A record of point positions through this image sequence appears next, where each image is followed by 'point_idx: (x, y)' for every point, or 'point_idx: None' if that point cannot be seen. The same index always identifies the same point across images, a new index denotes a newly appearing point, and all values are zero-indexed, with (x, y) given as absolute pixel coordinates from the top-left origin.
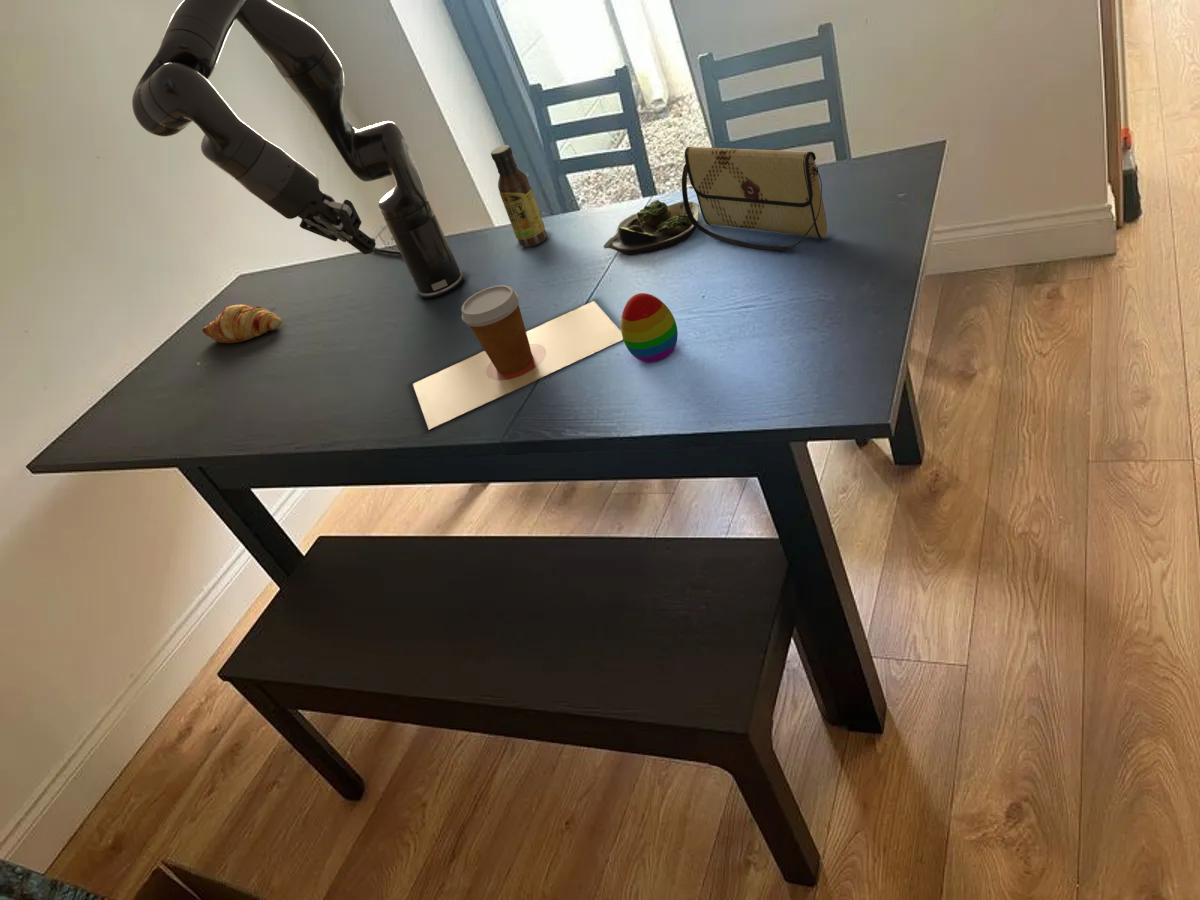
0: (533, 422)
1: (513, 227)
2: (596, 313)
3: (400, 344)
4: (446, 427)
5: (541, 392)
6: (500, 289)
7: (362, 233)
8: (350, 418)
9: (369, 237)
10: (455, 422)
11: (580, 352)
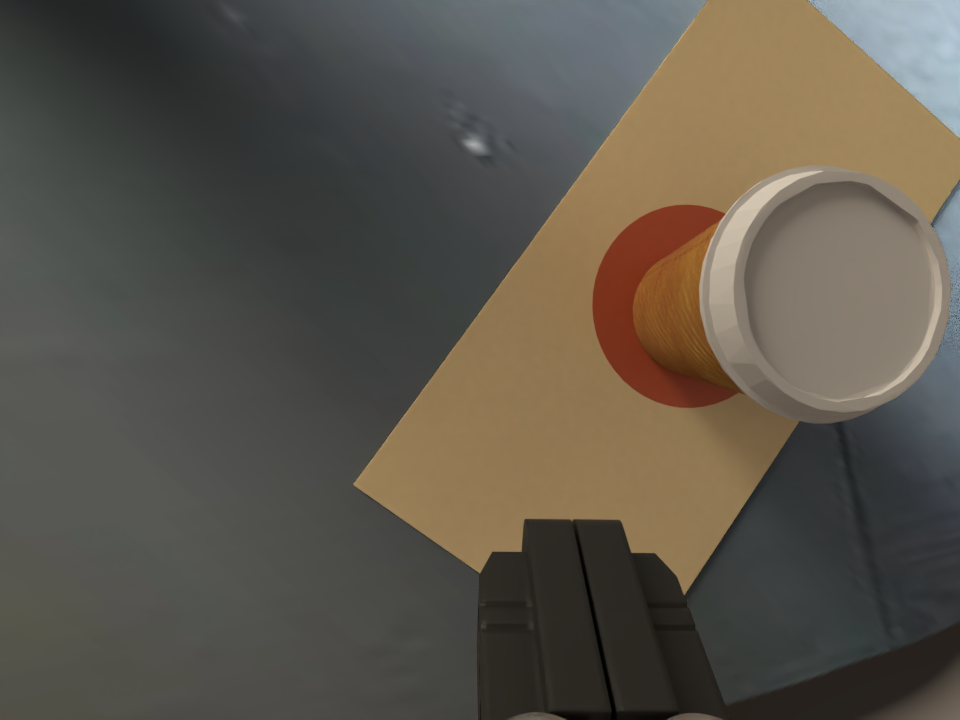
0: (934, 557)
1: None
2: (804, 24)
3: (32, 252)
4: None
5: (874, 433)
6: (833, 193)
7: (715, 695)
8: (232, 715)
9: (634, 570)
10: None
11: None
